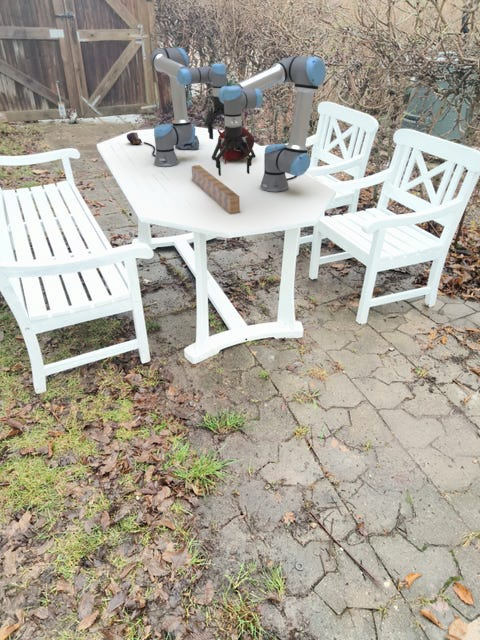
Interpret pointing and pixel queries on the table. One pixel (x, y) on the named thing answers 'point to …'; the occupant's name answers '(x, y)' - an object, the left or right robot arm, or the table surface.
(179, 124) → the left robot arm
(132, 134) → the rock
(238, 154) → the decorative skull
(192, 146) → the koala plush
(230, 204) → the post
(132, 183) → the table surface
